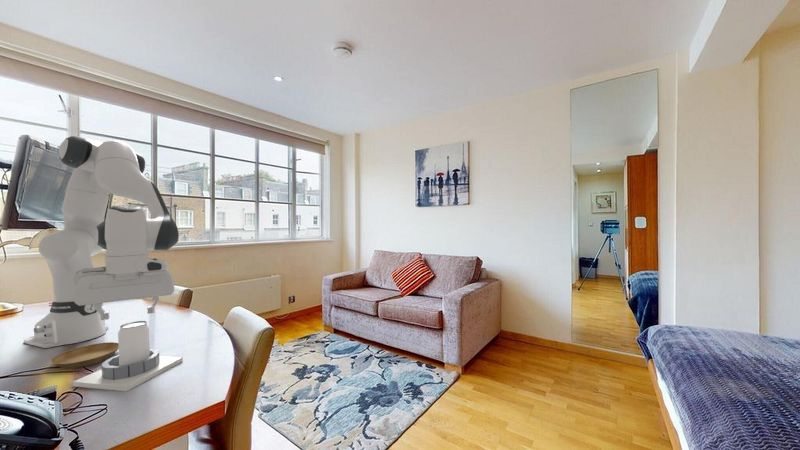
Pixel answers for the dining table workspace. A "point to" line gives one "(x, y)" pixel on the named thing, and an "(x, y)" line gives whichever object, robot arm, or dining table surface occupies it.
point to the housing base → (127, 381)
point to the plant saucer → (85, 355)
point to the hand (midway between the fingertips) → (128, 316)
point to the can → (133, 342)
